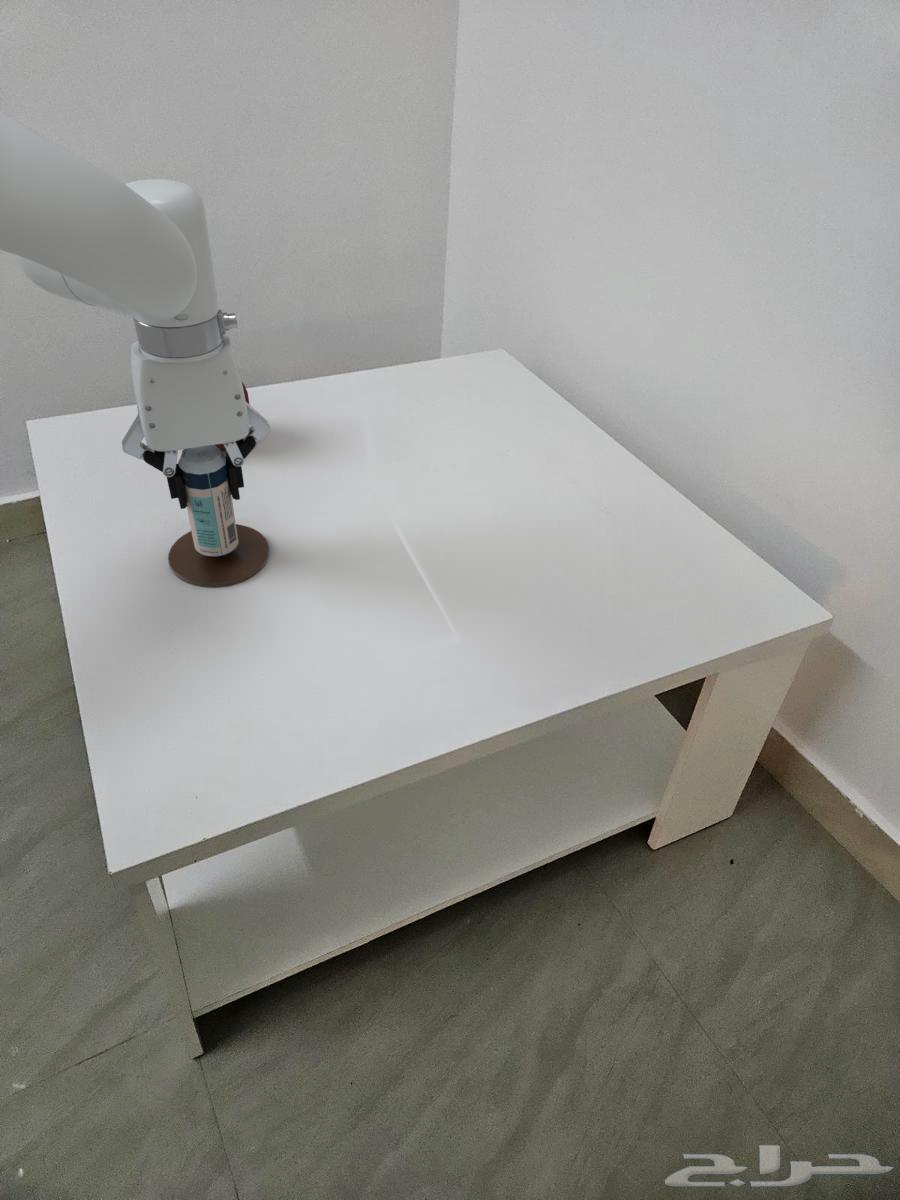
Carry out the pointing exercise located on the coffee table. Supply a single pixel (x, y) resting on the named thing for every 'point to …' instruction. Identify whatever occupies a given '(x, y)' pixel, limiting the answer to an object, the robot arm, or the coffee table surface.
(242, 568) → the coaster
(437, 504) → the coffee table surface
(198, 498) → the beer can
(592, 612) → the coffee table surface
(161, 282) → the robot arm
